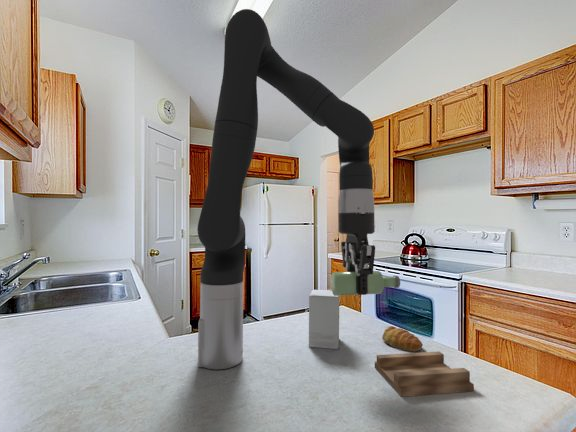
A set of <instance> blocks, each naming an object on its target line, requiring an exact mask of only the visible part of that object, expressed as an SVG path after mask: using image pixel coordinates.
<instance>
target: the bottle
mask: <svg viewBox="0 0 576 432" xmlns="http://www.w3.org/2000/svg"><path fill="white" fill-rule="evenodd" d="M367 278H368V293H367V294H366V295H380V294H383V292H384V289H385V288H394V289H398V288H400V286H401V279H400V276H398V275H392V276H383V274H382V272H380V271H379V270H373V274H369V276H367ZM330 288H331V289H330V290H332V293H333V295H334V296H338V295H339V296H359V295H358V294H357V293H356V272H348V271H335V272H332V273H331V275H330Z"/></svg>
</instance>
